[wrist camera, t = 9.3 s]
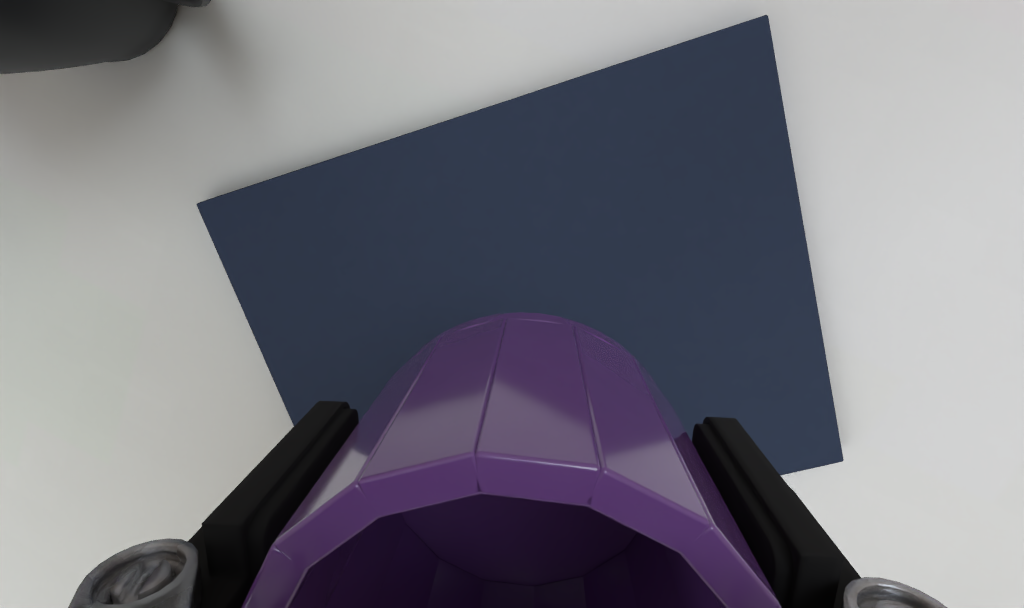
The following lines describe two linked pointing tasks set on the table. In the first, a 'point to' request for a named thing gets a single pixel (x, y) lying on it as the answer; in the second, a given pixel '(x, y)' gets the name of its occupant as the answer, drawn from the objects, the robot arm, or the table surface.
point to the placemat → (560, 242)
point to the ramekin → (515, 488)
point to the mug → (80, 31)
